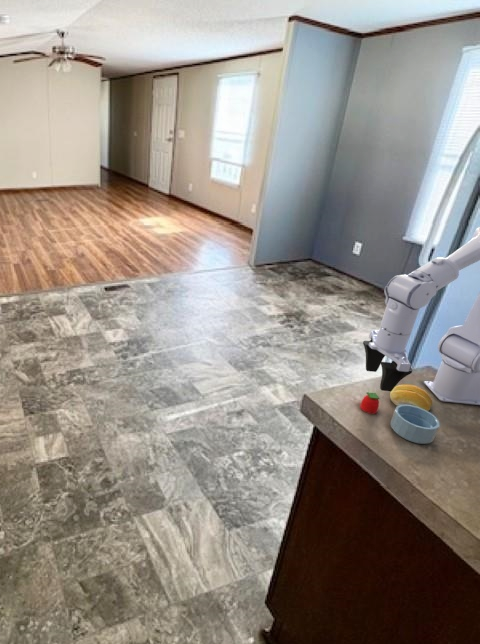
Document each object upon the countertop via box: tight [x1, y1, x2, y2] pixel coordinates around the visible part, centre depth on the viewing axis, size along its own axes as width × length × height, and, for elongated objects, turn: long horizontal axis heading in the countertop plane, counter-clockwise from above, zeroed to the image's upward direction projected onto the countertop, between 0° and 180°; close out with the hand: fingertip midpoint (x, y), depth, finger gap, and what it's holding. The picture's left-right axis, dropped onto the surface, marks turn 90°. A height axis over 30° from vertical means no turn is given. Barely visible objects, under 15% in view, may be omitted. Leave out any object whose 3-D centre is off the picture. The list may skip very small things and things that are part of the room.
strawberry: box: [359, 391, 380, 414], centre depth 101 cm, size 3×3×4 cm
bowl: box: [389, 404, 441, 445], centre depth 93 cm, size 8×8×4 cm
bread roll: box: [389, 384, 433, 412], centre depth 103 cm, size 8×9×4 cm
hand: (378, 380), depth 98 cm, fingers open, 7 cm apart
